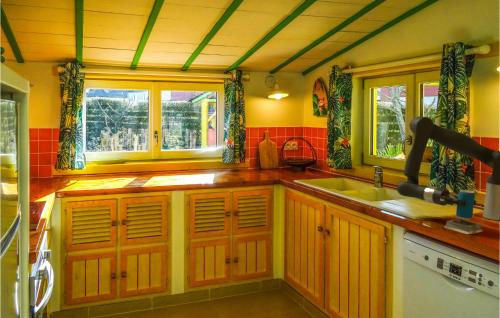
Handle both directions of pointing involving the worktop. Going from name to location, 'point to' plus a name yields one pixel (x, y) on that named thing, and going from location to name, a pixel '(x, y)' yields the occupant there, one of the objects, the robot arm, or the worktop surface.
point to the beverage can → (468, 209)
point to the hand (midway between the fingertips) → (470, 203)
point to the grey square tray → (463, 226)
